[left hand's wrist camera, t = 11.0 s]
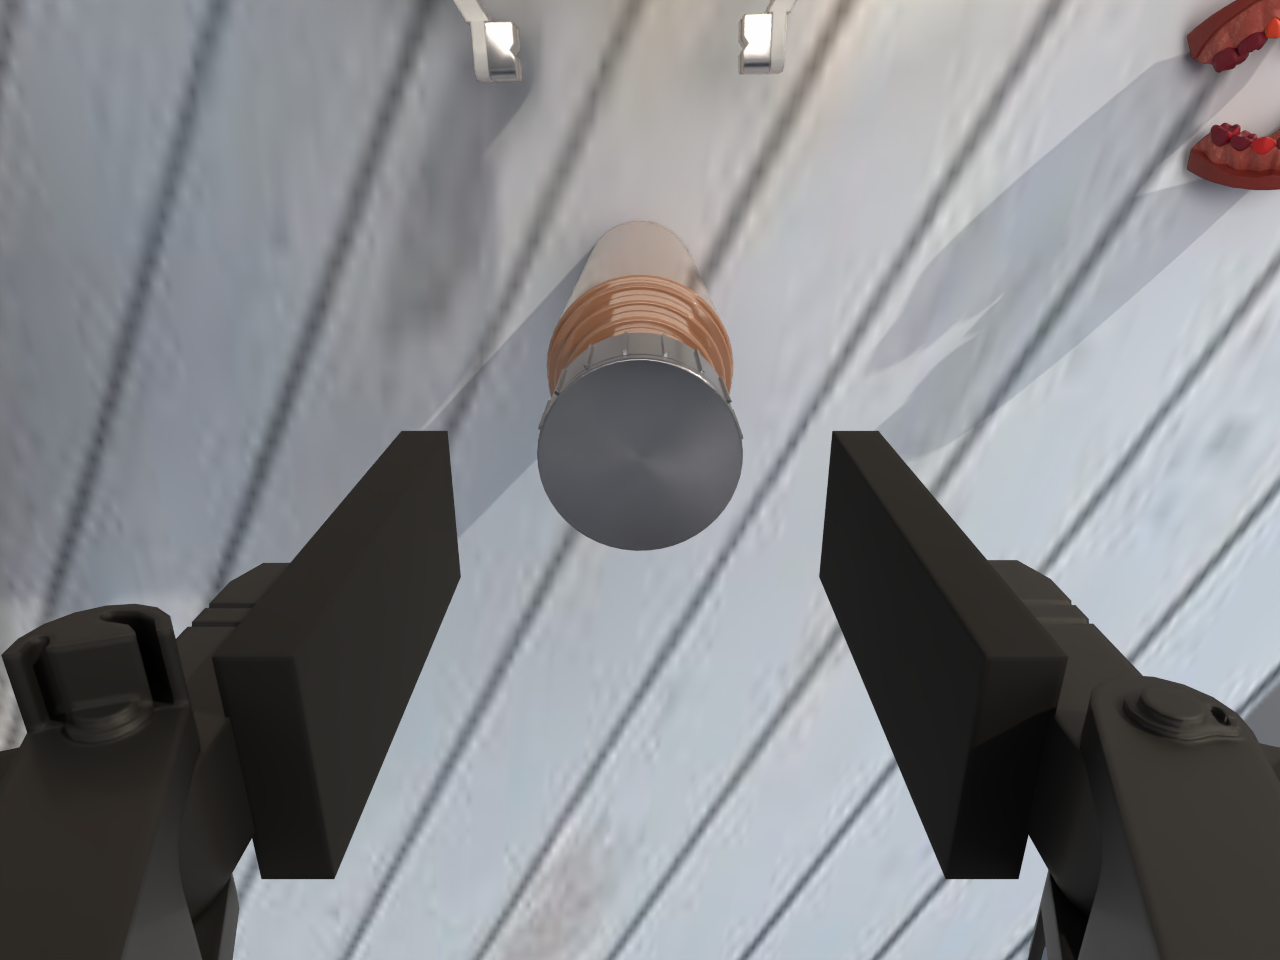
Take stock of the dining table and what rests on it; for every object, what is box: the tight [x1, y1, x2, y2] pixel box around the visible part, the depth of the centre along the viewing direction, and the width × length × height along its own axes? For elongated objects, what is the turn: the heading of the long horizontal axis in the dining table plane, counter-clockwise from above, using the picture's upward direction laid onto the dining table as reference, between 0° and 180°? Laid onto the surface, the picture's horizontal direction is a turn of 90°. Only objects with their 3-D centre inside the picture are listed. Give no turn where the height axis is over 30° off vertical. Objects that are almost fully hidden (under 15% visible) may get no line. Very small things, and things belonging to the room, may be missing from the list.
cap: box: [537, 332, 743, 551], centre depth 17 cm, size 4×4×2 cm
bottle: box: [547, 221, 733, 398], centre depth 28 cm, size 5×5×24 cm
